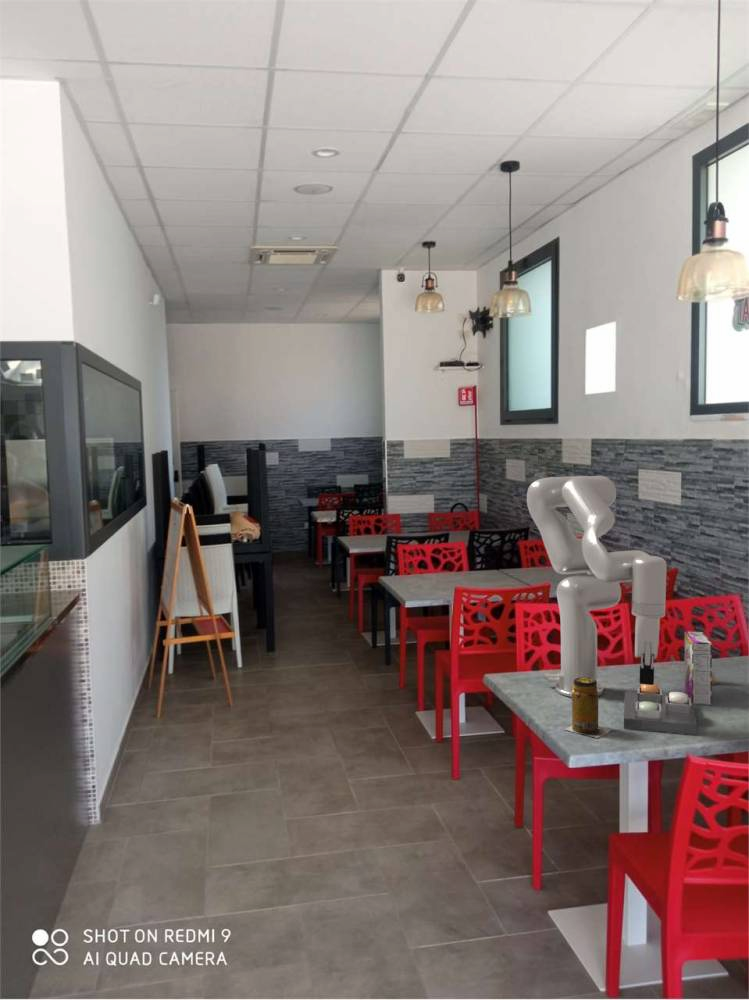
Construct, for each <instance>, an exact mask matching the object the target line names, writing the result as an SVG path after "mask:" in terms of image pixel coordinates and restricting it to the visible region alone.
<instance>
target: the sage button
mask: <svg viewBox="0 0 749 1000" xmlns="http://www.w3.org/2000/svg"><path fill="white" fill-rule="evenodd" d="M639 709H644V710H656V711H658V705H657V704H656V703H653V702H640V703H639Z"/></svg>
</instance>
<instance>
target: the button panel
mask: <svg viewBox="0 0 749 1000" xmlns="http://www.w3.org/2000/svg"><path fill="white" fill-rule="evenodd" d="M662 689H663V688H662V687H658V694H647V693H641V685H640V686H638V685H637V691H624V706H623V729H624V730H625V729H627V730H635V731H645V730H649V731H648V732H656V731H662V732H661V733H667V732H671V733H670V734H677V733H683V734H682V735H688V734H693V735H692V736H697V733H698V732H697V731H698V724H697V720H696V714H695V710H694V704H692V699H691V697H690V696H688V704H687V705H686V704H673V703H669V694H664V693H663V690H662ZM640 702H653V703H656V704H657V705H658V711H656V710H644V709H639V703H640Z"/></svg>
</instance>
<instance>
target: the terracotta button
mask: <svg viewBox="0 0 749 1000" xmlns="http://www.w3.org/2000/svg"><path fill="white" fill-rule="evenodd" d="M640 686H641V693H647V694H658V688H660V687H659V686H660V685H659V684H658V683H656V682H654V684H653V685H647V684H640Z"/></svg>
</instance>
